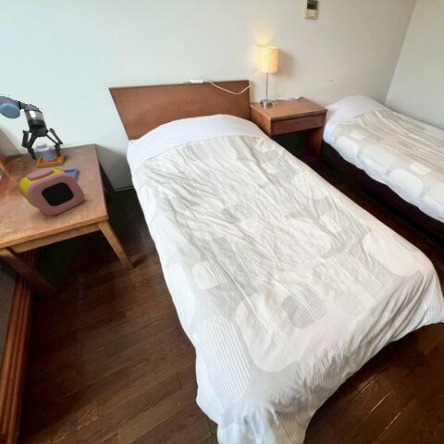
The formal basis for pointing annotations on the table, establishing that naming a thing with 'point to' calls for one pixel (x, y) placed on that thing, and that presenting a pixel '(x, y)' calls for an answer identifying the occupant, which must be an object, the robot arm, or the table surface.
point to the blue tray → (72, 172)
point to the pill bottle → (46, 152)
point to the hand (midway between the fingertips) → (46, 157)
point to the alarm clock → (51, 190)
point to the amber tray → (42, 163)
